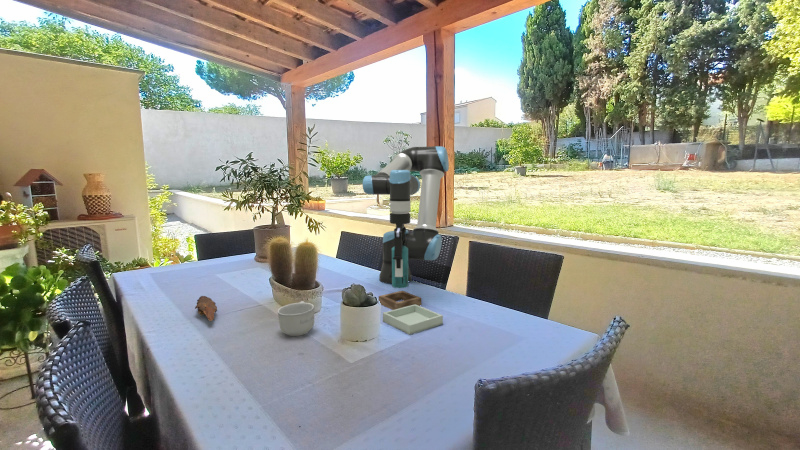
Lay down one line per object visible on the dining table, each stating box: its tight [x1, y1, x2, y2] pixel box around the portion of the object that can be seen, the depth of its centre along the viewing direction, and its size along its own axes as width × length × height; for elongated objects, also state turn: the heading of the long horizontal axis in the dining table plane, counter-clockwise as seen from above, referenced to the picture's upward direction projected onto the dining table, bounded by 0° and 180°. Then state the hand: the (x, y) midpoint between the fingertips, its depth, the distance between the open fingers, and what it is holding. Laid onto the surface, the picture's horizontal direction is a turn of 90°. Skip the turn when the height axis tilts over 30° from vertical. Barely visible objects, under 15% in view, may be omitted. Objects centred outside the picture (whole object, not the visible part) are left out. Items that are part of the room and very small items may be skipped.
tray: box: [382, 304, 444, 336], centre depth 126 cm, size 14×14×3 cm
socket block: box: [378, 290, 423, 311], centre depth 144 cm, size 12×12×3 cm
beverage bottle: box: [391, 237, 409, 289], centre depth 142 cm, size 6×7×20 cm
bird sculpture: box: [194, 295, 218, 322], centre depth 132 cm, size 7×25×5 cm, turn 36°
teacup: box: [277, 300, 315, 337], centre depth 119 cm, size 14×11×8 cm
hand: (400, 274), depth 143 cm, fingers closed on beverage bottle, 6 cm apart
